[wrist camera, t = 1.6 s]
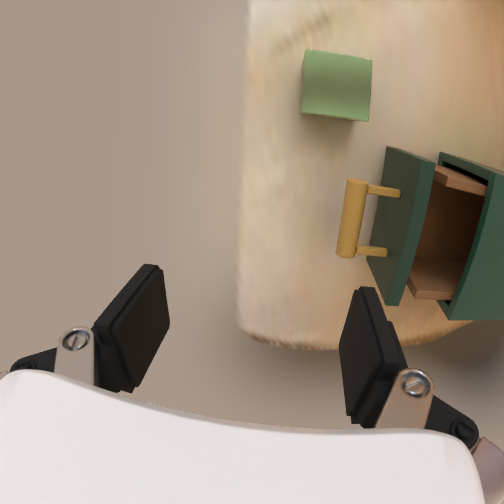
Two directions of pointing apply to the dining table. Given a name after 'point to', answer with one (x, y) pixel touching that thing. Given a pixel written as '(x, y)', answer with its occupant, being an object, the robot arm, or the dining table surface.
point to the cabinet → (481, 251)
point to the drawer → (414, 226)
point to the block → (336, 85)
